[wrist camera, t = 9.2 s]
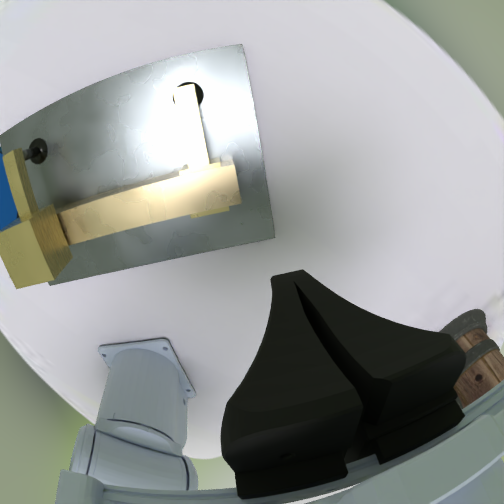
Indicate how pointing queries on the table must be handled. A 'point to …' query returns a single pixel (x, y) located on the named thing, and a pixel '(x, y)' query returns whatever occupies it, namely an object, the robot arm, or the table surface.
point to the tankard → (475, 357)
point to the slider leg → (31, 230)
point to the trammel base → (151, 163)
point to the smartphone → (6, 198)
